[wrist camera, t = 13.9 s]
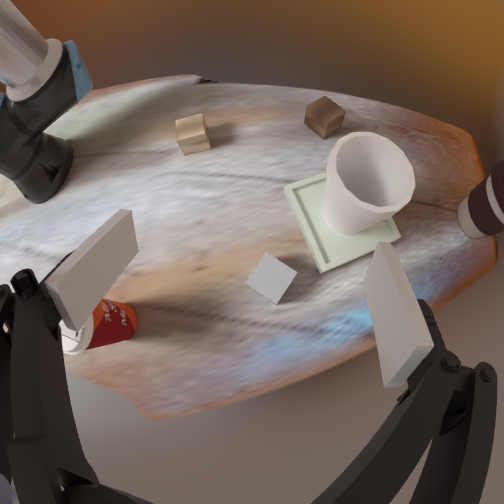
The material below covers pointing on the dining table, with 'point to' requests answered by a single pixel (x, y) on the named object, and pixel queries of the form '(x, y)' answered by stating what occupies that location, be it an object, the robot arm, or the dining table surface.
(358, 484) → the robot arm
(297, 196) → the tray
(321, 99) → the walnut block
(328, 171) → the foam cup
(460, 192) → the dining table surface
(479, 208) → the coffee cup
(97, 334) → the paper cup
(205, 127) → the beech block
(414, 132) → the dining table surface
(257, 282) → the grey painted block
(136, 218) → the dining table surface
